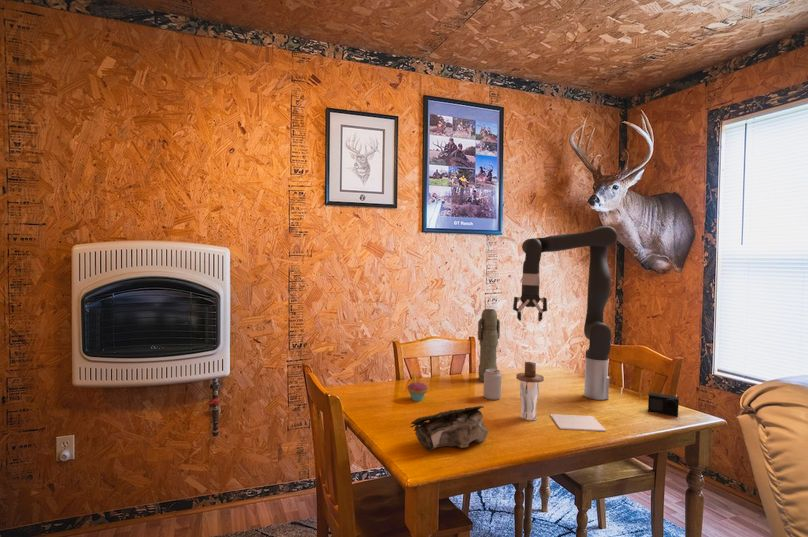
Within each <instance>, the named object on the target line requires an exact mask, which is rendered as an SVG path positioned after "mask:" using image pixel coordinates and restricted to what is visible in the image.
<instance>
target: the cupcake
mask: <svg viewBox="0 0 808 537" xmlns="http://www.w3.org/2000/svg"><path fill="white" fill-rule="evenodd" d="M413 380H414V381H413V382H411V383H409V385H407V386H406V387H407V391H408V392H409V394H410V398H411V401H414V402H421V401H423V400H424V397H425V395H426V393H428V386H427V385H426V383H424V382H420V381H419V382H417V378H416V372H415V371H413Z"/></svg>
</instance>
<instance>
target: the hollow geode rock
mask: <svg viewBox="0 0 808 537" xmlns="http://www.w3.org/2000/svg"><path fill="white" fill-rule="evenodd" d="M482 408H484V405H477V406H472V407H470V406H468V407H465V408H459V409H458V408H457V409H451V410H446V411H441V412H440V411H439V413H436V414H433V415H427V416H422V417H418V418H416V419H414V420H413V421H411V423H410V428H414V430H413V431H414V432H415V436H416V439H417V440H418V442H419V443H420V444H421V445H422V446H423V447H424V449H425V450H426V451H428V452H431V451H432V450H435V449H436V448H438V447H445V446H447V447H448V448H449V447H454V446H457V447H459V448H467V447H469V446H470V445H469V444H471V443H472V442H475V443H483V442H485V441H486V438H487V437H488V434H489V431H488V428H487V427H486V426H485V423H484V421H483V419H484V416H483V413H482V411H481V409H482Z"/></svg>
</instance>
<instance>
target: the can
mask: <svg viewBox="0 0 808 537" xmlns="http://www.w3.org/2000/svg"><path fill="white" fill-rule="evenodd" d="M502 380H503V374H502V373H501V370H500V369H498V368H497V369H487V370H486V372H485V373H484V382H483V393H482V394H483V397H484V398H485V399H487V400H491V401H496V400H500V398H502V384H503V382H502Z"/></svg>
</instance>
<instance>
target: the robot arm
mask: <svg viewBox="0 0 808 537" xmlns="http://www.w3.org/2000/svg"><path fill="white" fill-rule="evenodd" d="M617 240H618V232H617V230H616V229H615V228H613V227H612V226H609V225H602V226H597V227H594V228H592V230H590V231H584V232H576V233H563V234H554V235H549V236H544V237H535V238H527V239H525V240H524V241H523V243H522V244H521V248H522V249H521V250H522V251H523V253H525V255H524V256H525V257H524V258H525V259H524V261H523V263H522V276H521V296H514V297H513V303H512V304H513V305H512V310H514V311H516V319H517V320H518V321H522V311H523V309H525V307H526V308H535V309H536V310H537V311H538V313H537V314H538V315H537V320H538V322H541V321H542V320H543V313H544V312H547V311H548V299H547V298H546V297H540V286H541V285H540V284H541V283H540V282H541V281H540V262H541V258H542V253H552V252H560V251H567V250H572V249H577V248H578V249H579V248H583V247H589V267H588V268H589V269H588V281H587V299H586V300H587V306H586V307H587V308H586V315H585V321H584V327H583V334H584V337H585V338H586V339H587V340H588V341H589V344H588V349H587V350H585V359H584V362H585V364H584V389H583V390H584V391H583V393H584V394H583V395H584V397H585V398H588V399H591V400H595V401H597V400H598V401H605V400H609V397H610V395H609V394H610V377H609V376H608V375H609V374H608V373H609V369H608V368H609V356H610V353H611V347H612V331H611V328H610V326H608V324H606V323H604V312H605V311H604V310H605V307H606V305H607V302H608V300H609V297H610V294H611V286H612V275H611V271H610V267H609V263H608V248H609V247H611V246H613V245H614V244H615V243H616V241H617ZM519 301H521V304H520V305H519V307H518V303H519ZM540 301H541V302H540ZM539 302H540V303H542V308H541V306H540V305H539Z"/></svg>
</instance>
